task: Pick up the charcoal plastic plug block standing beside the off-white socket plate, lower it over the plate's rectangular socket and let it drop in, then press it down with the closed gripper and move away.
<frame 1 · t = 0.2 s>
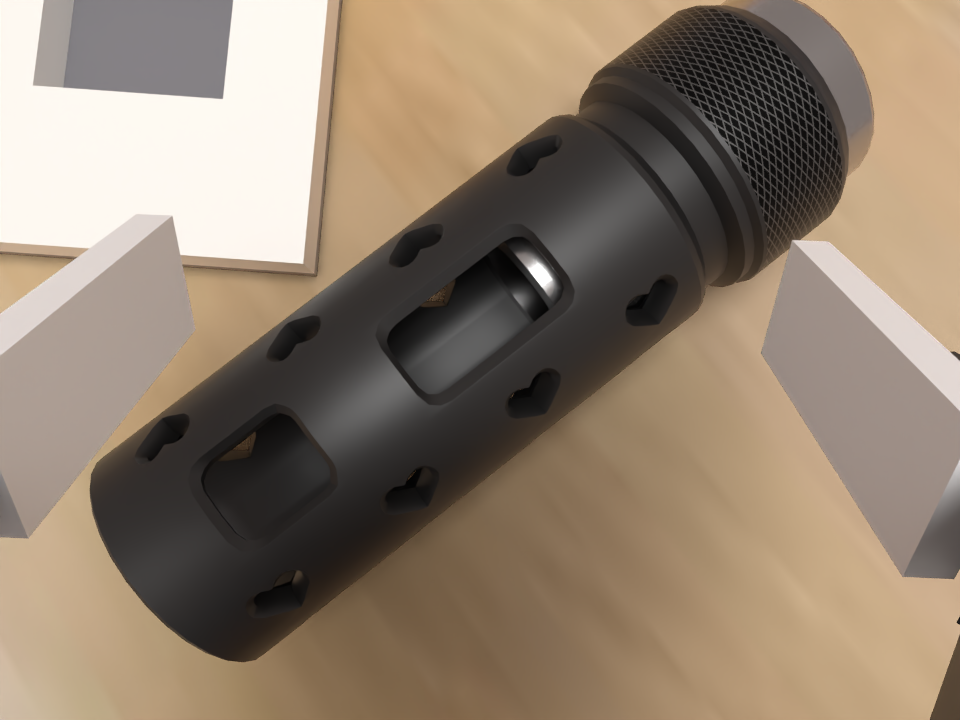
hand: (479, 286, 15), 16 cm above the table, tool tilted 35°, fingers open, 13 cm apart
socket plate: (162, 49, 32), on the table
muzzle brake: (491, 333, 31), on the table
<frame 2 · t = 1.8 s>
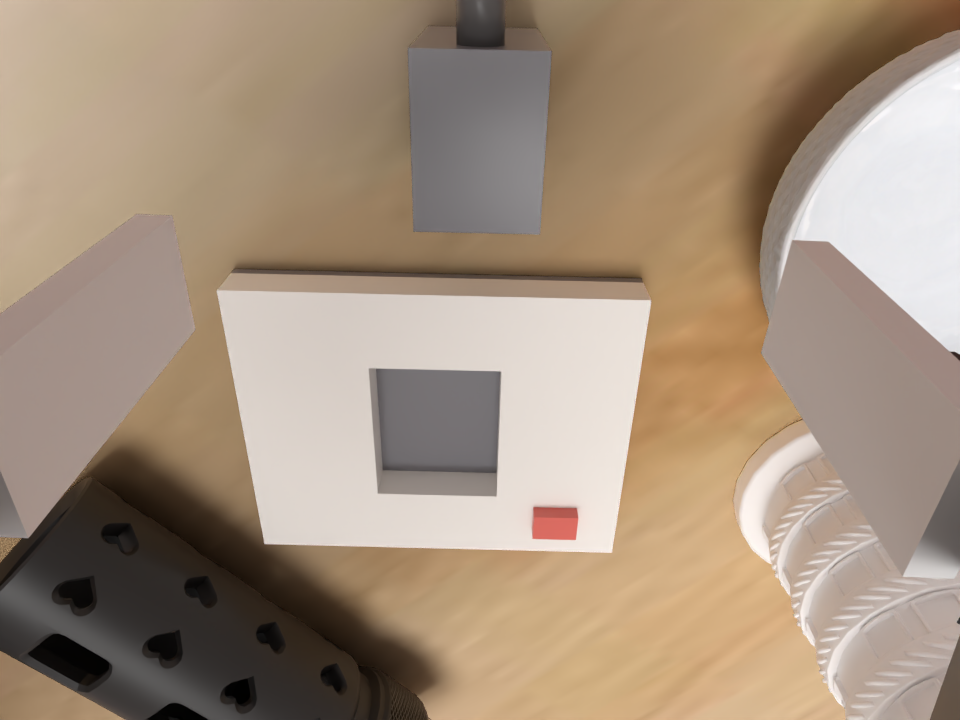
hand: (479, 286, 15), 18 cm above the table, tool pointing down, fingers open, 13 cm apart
cereal bowl: (910, 202, 32), on the table
socket plate: (439, 408, 38), on the table
muzzle brake: (263, 598, 47), on the table
plug: (481, 103, 30), on the table
decorative container: (832, 486, 41), on the table
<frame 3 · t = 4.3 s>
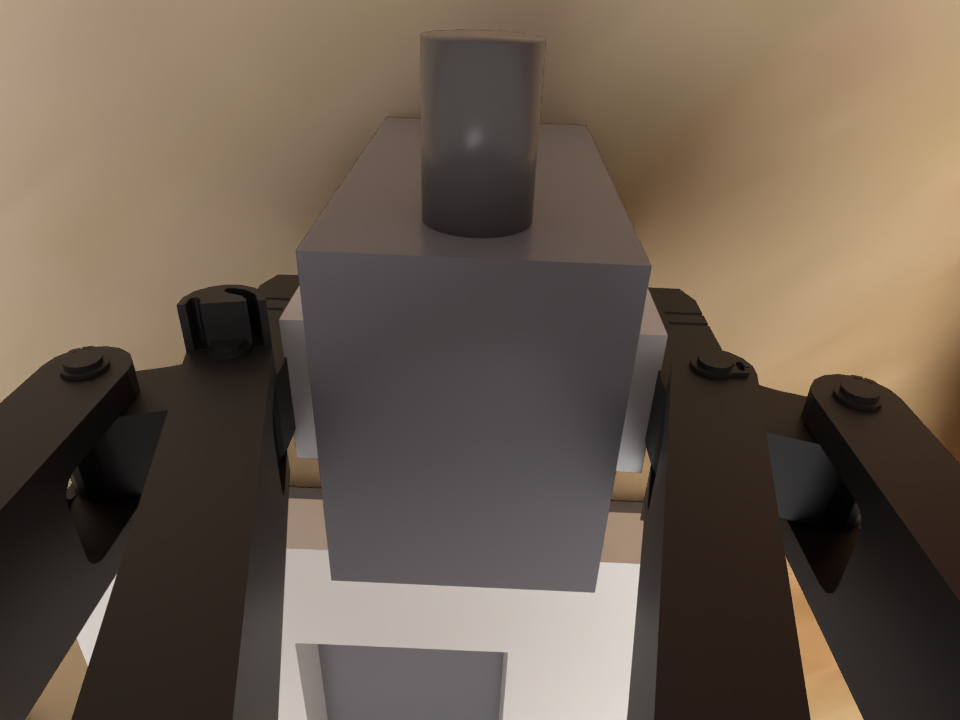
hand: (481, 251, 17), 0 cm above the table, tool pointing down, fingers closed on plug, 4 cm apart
socket plate: (412, 659, 25), on the table
plug: (481, 246, 17), on the table, touching gripper
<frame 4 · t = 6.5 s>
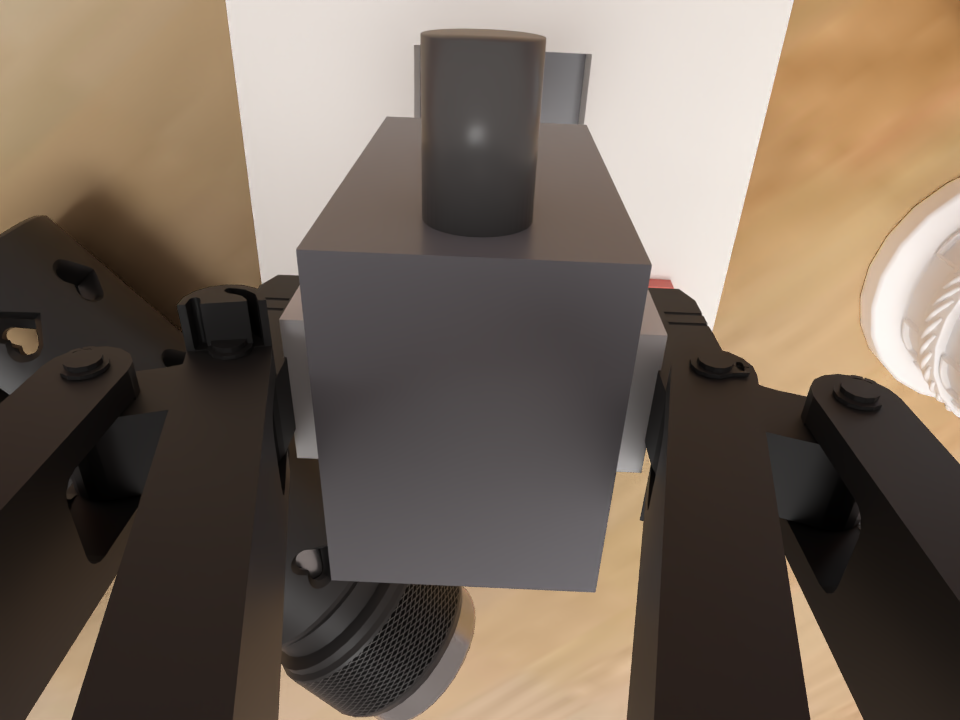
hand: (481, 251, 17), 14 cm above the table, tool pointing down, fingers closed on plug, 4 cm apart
socket plate: (497, 144, 30), on the table
muzzle brake: (262, 426, 38), on the table
plug: (481, 246, 17), point 14 cm above the table, touching gripper
when the fingers open (4 cm above the table, at t = 8.9 s): plug drops 3 cm, resting on socket plate.
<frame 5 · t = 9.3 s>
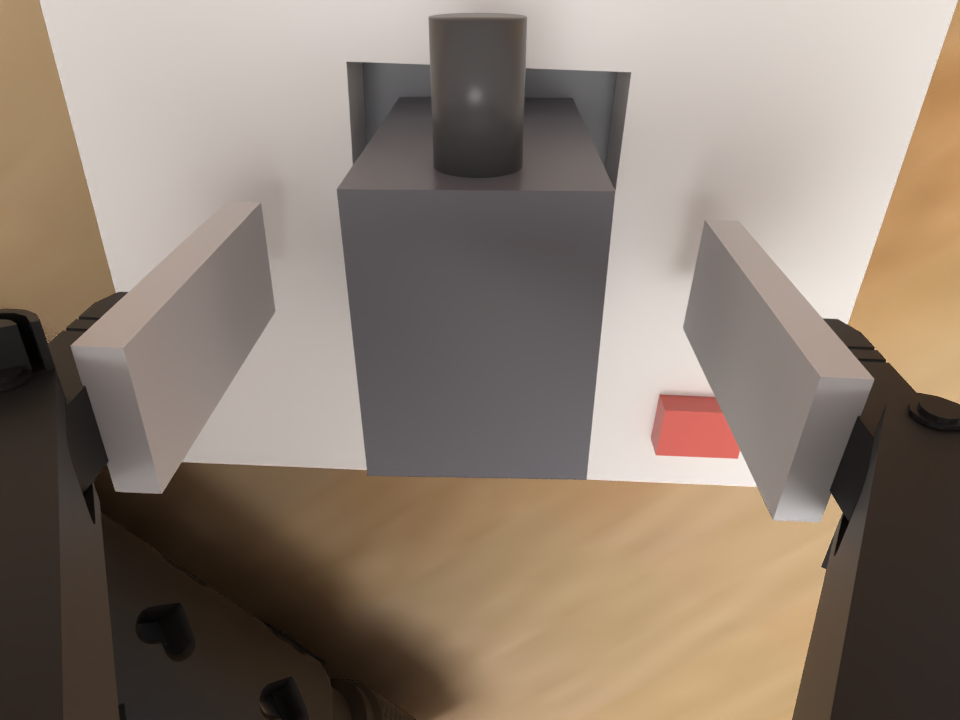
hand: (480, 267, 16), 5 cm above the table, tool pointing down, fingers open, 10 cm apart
socket plate: (485, 203, 20), on the table
muzzle brake: (180, 566, 29), on the table
plug: (485, 209, 20), resting on socket plate
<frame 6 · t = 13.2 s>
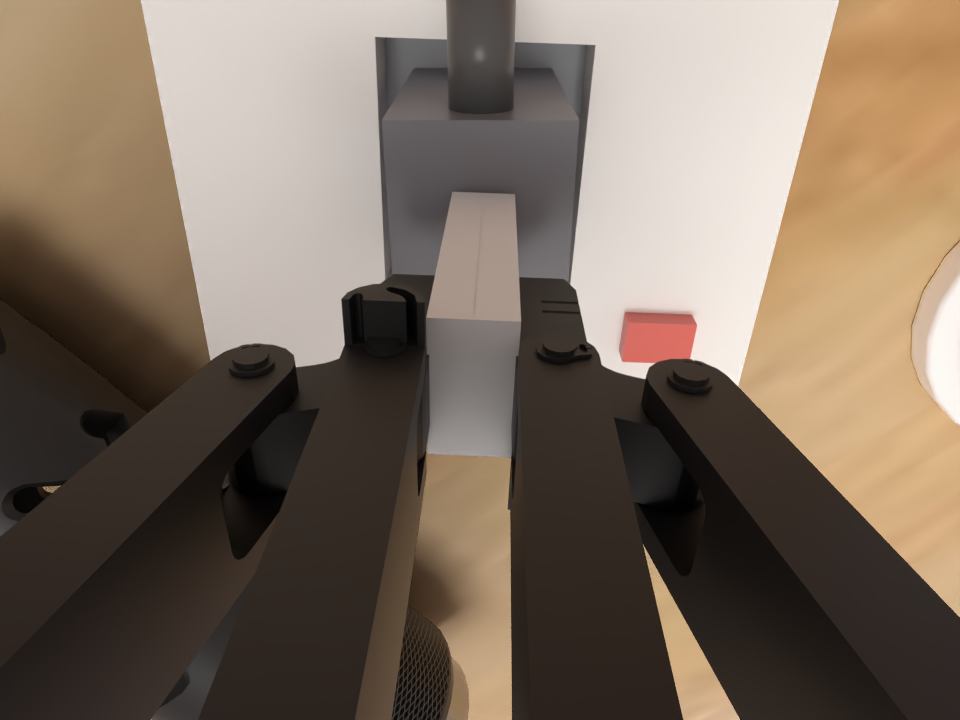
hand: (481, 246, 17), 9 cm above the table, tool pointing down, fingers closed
socket plate: (482, 156, 25), on the table
muzzle brake: (220, 482, 33), on the table
plug: (482, 160, 24), point 1 cm above the table, touching gripper, socket plate
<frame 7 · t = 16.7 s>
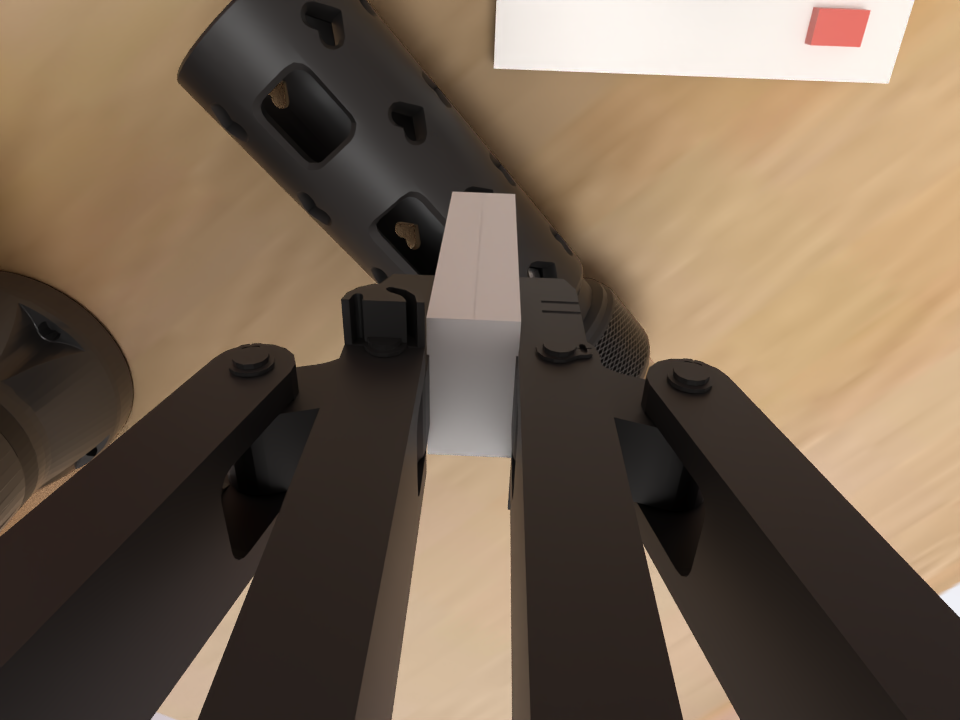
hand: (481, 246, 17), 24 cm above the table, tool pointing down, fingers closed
muzzle brake: (455, 202, 42), on the table
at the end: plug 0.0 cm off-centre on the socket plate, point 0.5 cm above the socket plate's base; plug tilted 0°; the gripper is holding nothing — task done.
